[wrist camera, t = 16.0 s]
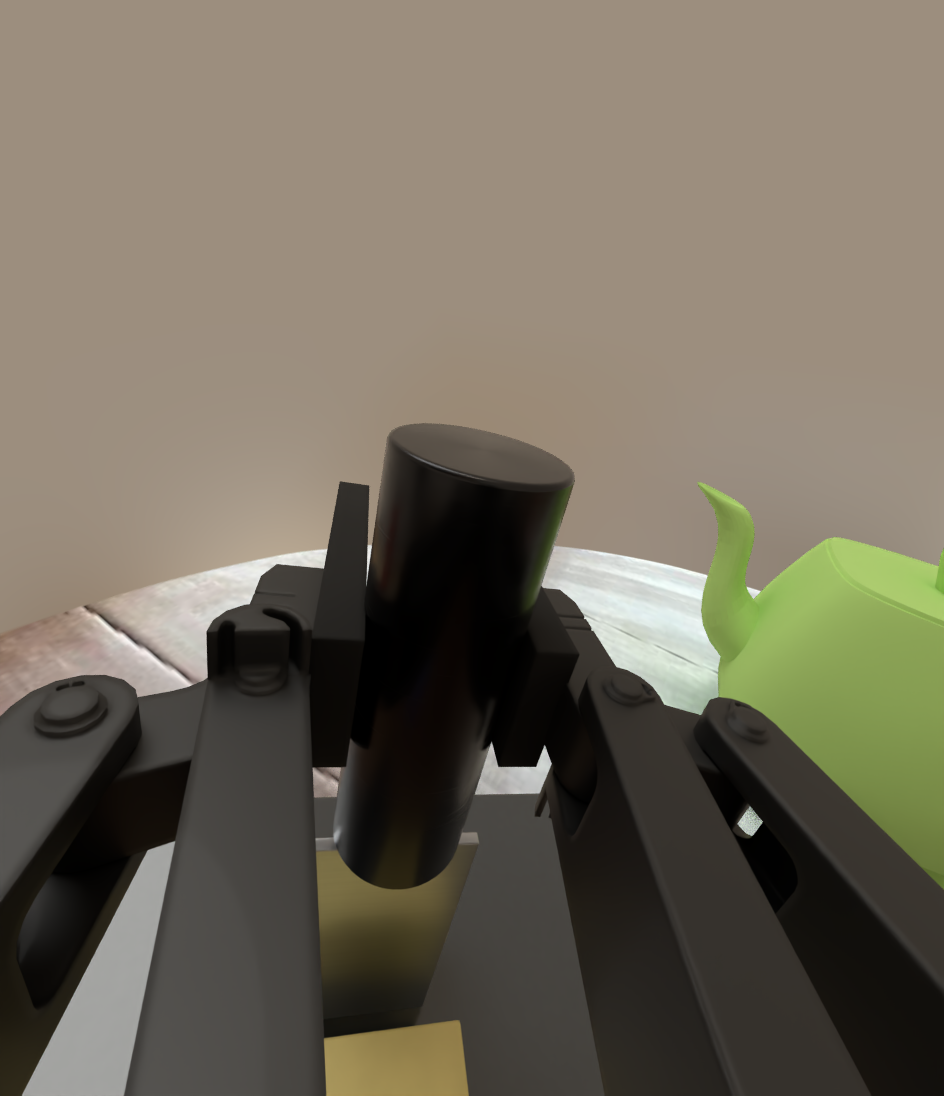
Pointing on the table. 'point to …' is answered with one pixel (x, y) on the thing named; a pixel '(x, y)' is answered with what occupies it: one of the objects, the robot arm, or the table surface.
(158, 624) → the table surface
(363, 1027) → the board
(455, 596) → the knife
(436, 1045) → the butter block
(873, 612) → the teapot
